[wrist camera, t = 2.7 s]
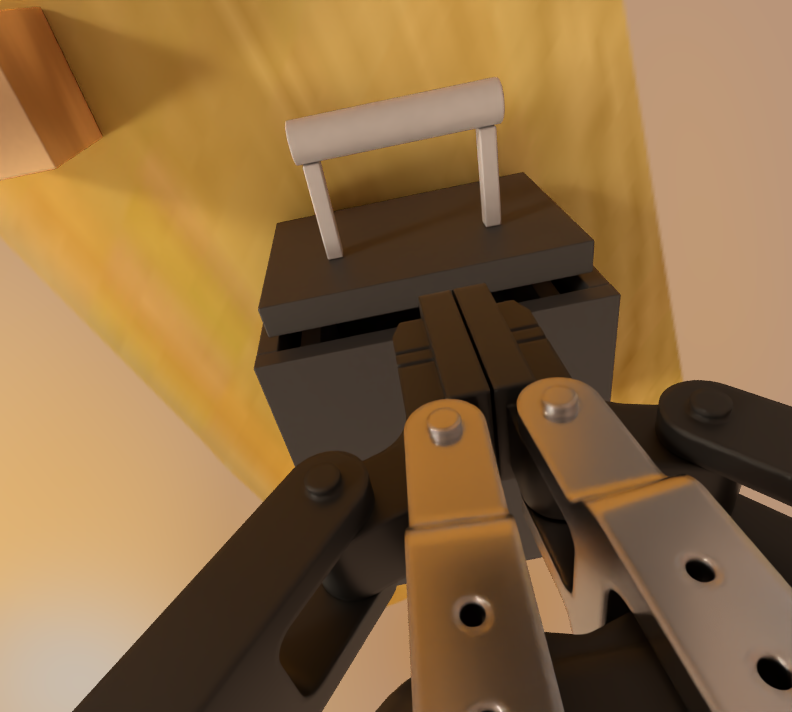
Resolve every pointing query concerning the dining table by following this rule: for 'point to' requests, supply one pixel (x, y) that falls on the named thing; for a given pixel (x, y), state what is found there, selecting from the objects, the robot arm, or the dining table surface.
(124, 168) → the dining table surface
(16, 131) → the block
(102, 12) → the dining table surface
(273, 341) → the dark drawer cabinet
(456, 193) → the drawer with bar handle
